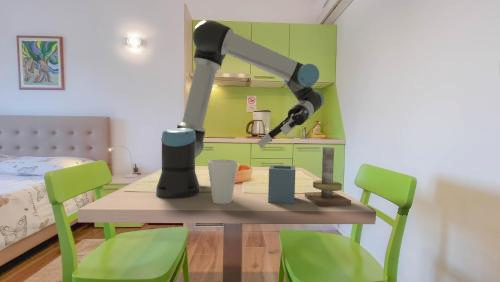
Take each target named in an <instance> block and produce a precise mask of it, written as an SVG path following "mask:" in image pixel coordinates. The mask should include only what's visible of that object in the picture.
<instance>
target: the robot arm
mask: <svg viewBox="0 0 500 282" xmlns="http://www.w3.org/2000/svg"><path fill="white" fill-rule="evenodd" d="M192 41H193V44H194V46H195V50H194V55H193V59H192V60H193V63H194V64H195V67H194V71H193V75H192V80H191V84H190V89H189V93H188V97H187V101H186V105H185V110H184V113H183V116H182V117H183V118H182V121H181V122H180V123H178V124H177V127H174V128H173V127H172V128H166V129H164V130H163V131H162V134H161V139H160V140H161V173H160V176H159V179H158V182H157V185H156V187H155V188H156V189H155V191H156V192H155V194H156V196H159V198H166V199H167V198H168V199H169V198H170V199H178V198H180V199H181V198H189V197H193V196H196V195H198V194H199V193H200V191H201V189H200V188H201V187H200V182H199V180H198V176H197V173H196V157H198V156H199V155H200V154H201V153H202V152H203V149H204V138H205V135H206V130H205V128H204V124H205V119H206V116H207V111H208V107H209V102H210V98H211V94H212V91H213V87H214V82H215V78H216V73H217V71H219V70H220V69H221V68H222V65H223V61H224V59H225V57H226V56H227V55H229V56H231V57H233V58H235V59H236V60H237V59H238V60H240V61H242V62H245V64H246V63H247V64H249V65H250V66H254V67H256V68H258V69H260V70H262V71H264V72H267V73H269V74H272V75H273V76H276V77H278V78H280V79H282V80H283V81H284V83H285V84H286V86H287V87H288V89H289V90H290V92H291V93H292V94H293V95H294V96H295V97H294V98H296V100H297V101H298V102H296V104H294V106H292V107H291V108H290V109H289V110H288V112H287V117H286V118H284V119H283V120H282V121H281V122H280V123H279V124H278V125H276V126H275V127H274V128H273V129H271V130H270V131H269V132H267V133H266V134H264V136H263V137H262V138H260V139H259V140H258V141H257V142H256V144H257V145H258V146H259V147H260V149H263V148H264V147H265V146H266V145H267V144H268V143H270V142H273V138H275V137H276V136H277V135H280V134H281V133H283V134H284V135H285V136H286V135H288V134H289V133H290V132H291V131H292V130H293V129H295V128H296V127H297V126H302V125H304V123H305V122H307V120H310V119H311V117H312V116H313V115H314V114H315V113H316V112H317V111H319V109H321V107H322V106H323V105H324V104H325V96H324V95H323V93H322V92H320V91H318V90H314V89H313V86H314V85H315V84H316V83H317V82H318V81H319V78H320V70H319V68H318V67H317V66H316V65H315V64H313V63H306V64H303V63H301V62H300V61H296V60H294V59H292V58H290V57H287V56H286V55H283V54H282V53H279V52H277V51H274V50H272V49H270V48H269V47H266V46H264V45H261V44H259V43H258V42H256V41H253V40H251V39H249V38H246V37H244V36H242V35H240V34H237V33H235V32H234V29H233V28H231V26H230V27H229V26H227V25H225V24H224V23H223V24H222V23H221V22H218V21H215V20H213V19H212V20H210V19H206V20H202V21H200V22H199V23H197V24H196V26H195V27H194V29H193V33H192Z"/></svg>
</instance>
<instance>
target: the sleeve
mask: <svg viewBox="0 0 500 282" xmlns="http://www.w3.org/2000/svg"><path fill="white" fill-rule="evenodd" d="M267 190H268V194H267V195H268V197H267V202H268V203H272V204H284V205H285V204H286V205H295V200H296V199H295V197H296V195H295V193H296V191H295V190H296V166H295V165H276V164H275V165H273V164H271V165H270V166H269V168H268V189H267Z"/></svg>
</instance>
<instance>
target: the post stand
mask: <svg viewBox="0 0 500 282" xmlns="http://www.w3.org/2000/svg"><path fill="white" fill-rule="evenodd" d="M334 159H335V147H329V146H326V147H325V146H324V147H322V162H321V166H322V167H321V179H320V180H319V179H318V180H313V181H312V187H313V188H314V189H316V190H319V191H317V192H316V191H315V192H313V191H311V192H304V198H306V199H308V200H309V201H310V202H311V203H313V204H315V205H317V206H318V207H335V206H339V207H340V206H352V200H351V199H349V198H347V197H345V196H343V195H341V194H339V193H337V192H338V191H342V189H343V188H342V187H343V184H342V183H341V182H339V181H338V182H337V181H334V167H335V166H334V163H335V162H334V161H335V160H334ZM320 190H321V191H320Z"/></svg>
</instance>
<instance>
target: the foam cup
mask: <svg viewBox="0 0 500 282" xmlns="http://www.w3.org/2000/svg"><path fill="white" fill-rule="evenodd" d="M207 167H208V168H207V169H208V174H209V182H210V192H211V199H212V203H214V204H217V205H218V204H220V205H224V204H229V203H232V202H233V196H234V190H235V189H234V188H235V183H236V182H235V181H236V175H237V170H238V160H234V159H211V160H208V161H207Z"/></svg>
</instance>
